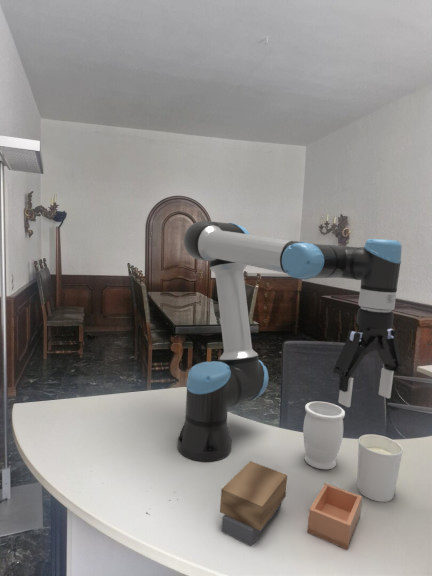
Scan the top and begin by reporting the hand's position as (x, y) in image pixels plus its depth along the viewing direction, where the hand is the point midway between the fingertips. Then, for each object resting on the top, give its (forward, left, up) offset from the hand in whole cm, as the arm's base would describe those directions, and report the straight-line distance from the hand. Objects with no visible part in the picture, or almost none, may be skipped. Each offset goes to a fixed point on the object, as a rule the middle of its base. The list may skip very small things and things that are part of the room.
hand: (364, 400), depth 91 cm
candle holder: (+4, +5, -24) cm, 24 cm away
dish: (-1, -13, -23) cm, 27 cm away
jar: (-11, +10, -24) cm, 28 cm away
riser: (-16, -21, -23) cm, 35 cm away
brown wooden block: (-16, -21, -20) cm, 34 cm away
